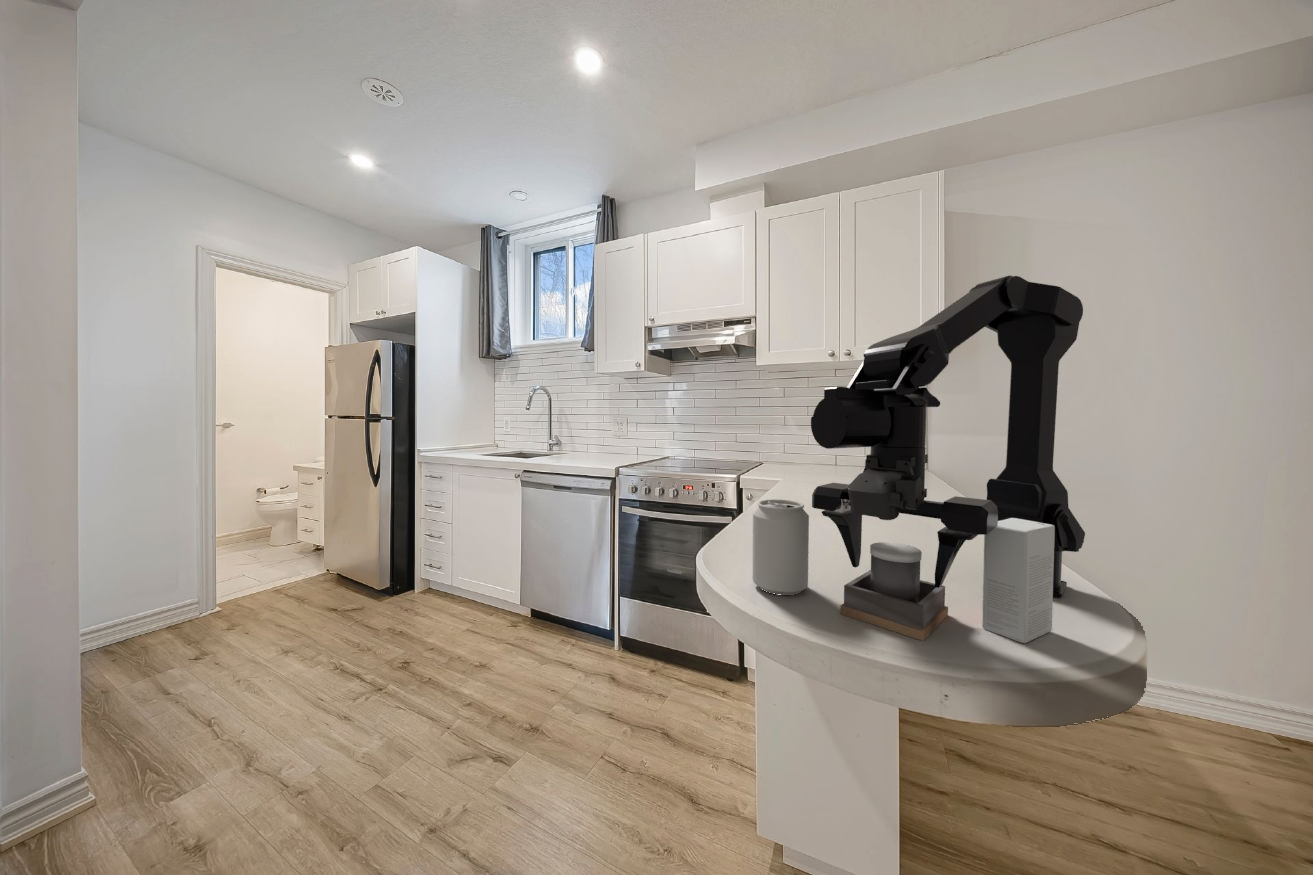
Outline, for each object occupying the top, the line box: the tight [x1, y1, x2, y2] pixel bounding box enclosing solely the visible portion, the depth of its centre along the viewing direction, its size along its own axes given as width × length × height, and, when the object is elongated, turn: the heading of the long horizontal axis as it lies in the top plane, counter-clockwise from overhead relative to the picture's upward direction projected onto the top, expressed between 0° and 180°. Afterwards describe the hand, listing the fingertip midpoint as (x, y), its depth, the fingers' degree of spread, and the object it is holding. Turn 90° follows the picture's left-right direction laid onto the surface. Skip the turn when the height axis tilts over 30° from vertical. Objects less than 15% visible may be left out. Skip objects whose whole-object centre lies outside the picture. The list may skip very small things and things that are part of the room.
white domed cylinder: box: [869, 541, 923, 604], centre depth 54 cm, size 5×5×7 cm
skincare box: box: [981, 518, 1055, 644], centre depth 49 cm, size 6×4×12 cm
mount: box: [839, 569, 949, 642], centre depth 54 cm, size 9×9×4 cm
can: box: [751, 498, 810, 596], centre depth 62 cm, size 8×8×12 cm
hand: (894, 576), depth 54 cm, fingers open, 9 cm apart
